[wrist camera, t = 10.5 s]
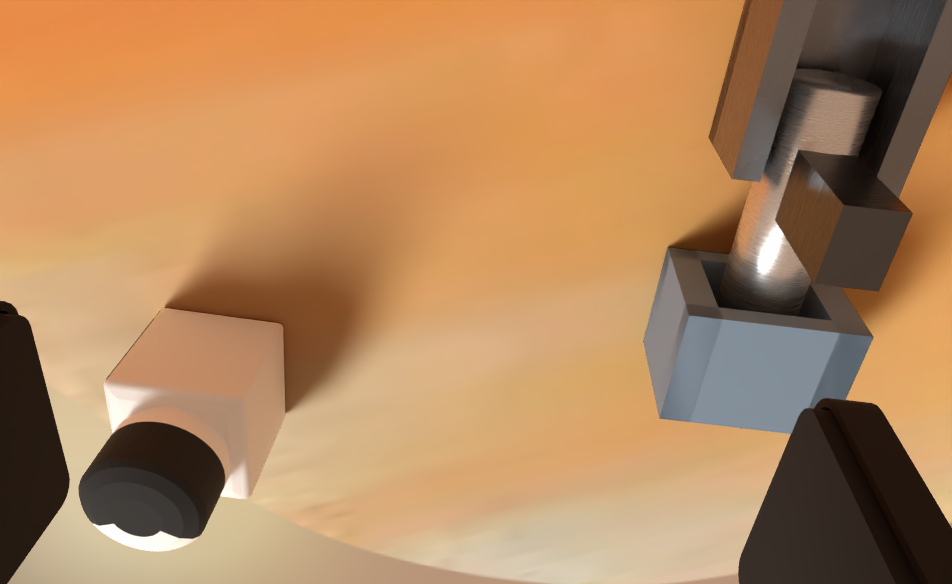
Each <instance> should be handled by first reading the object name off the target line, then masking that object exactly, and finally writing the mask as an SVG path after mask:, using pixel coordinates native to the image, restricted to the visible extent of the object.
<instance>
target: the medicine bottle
mask: <svg viewBox="0 0 952 584" xmlns="http://www.w3.org/2000/svg"><path fill="white" fill-rule="evenodd" d="M104 390H105V396H106V401H107V407H108V412H109V418H110V423H111V428H112V435H111V436H110V438H109V439H108V441H107V442H106V444H105V445H104V447H103V448H102V449H101V451H100V452H99V453H98V455H97V456H96V458H95V459H94V461H93V462H92V463H91V465H90V466H89V468H88V469H87V471H86V472H85V473H84V475H83V476H82V478H81V481H80V484H79V497H80V501H81V505H82V507H83V510H84V512H85V514H86V515H87V517H88V518H89V520H90V521H91V522H92V523H93V524H94V525H95V526H96V527H97V528H98V529H99V530H100V531H101V532H103V533H104V534H105V535H107V536H108V537H110V538H112V539H114V540H115V541H117V542H119V543H122V544H124V545H127V546H130V547H132V548H137V549H141V550H147V551H168V550H173V549H177V548H180V547H183V546H185V545H187V544H190V543H191V542H193V541H194V540H196V539H197V538H198V537H199V536H200V535H201V534H202V532H203V531H204V529H205V526H206V524H207V522H208V520H209V518H210V516H211V514H212V512H213V510H214V507H215V505H216V503H217V501H218V499H219V497H220V496H224V497H232V498H239V499H247V498H249V497H250V496H251V494H252V492H253V490H254V487H255V485H256V483H257V480H258V478H259V476H260V473H261V471H262V469H263V466H264V464H265V462H266V459H267V457H268V455H269V453H270V450H271V448H272V446H273V443H274V441H275V439H276V436H277V434H278V432H279V429H280V427H281V425H282V422H283V420H284V418H285V380H284V336H283V326H282V325H281V324H279V323H274V322H266V321H259V320H251V319H244V318H236V317H229V316H222V315H214V314H207V313H199V312H192V311H184V310H177V309H169V308H163V309H162V310H160V311H159V313H158V314H157V315H156V316H155V318H154V319H153V320H152V321H151V323H150V324H149V325H148V326H147V328H146V329H145V330H144V332H143V333H142V334H141V335H140V337H139V338H138V339H137V340H136V342H135V343H134V344H133V346H132V347H131V348H130V349H129V351H128V352H127V353H126V354H125V356H124V357H123V358H122V360H121V361H120V362H119V363H118V365H117V366H116V367H115V368H114V370H113V371H112V372H111V374H110V375H109V376H108V377H107V379H106V380H105V382H104Z"/></svg>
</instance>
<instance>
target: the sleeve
mask: <svg viewBox="0 0 952 584" xmlns="http://www.w3.org/2000/svg"><path fill="white" fill-rule="evenodd" d="M796 69H815V70H823V71H830V72H835V73H840V74H845V75H849V76H852V77H856V78H859V79H862V80H865V81H867V82H870V83H872V84H874V85H876V86H878V87H879V88H880V89H881V90H882V94H881V97H880V100H879V102H878V105H877V107H876V110H875V113H874V115H873V118H872V121H871V123H870V126H869V129H868V131H867V134H866V136H865V139H864V142H863V144H862V147H861V150H860V152H859V155H858V158H859V159H860V160H861V161H862V162H863V163H864V164H865V165H866V166H867V167H868V168H869V169H870V170H871V171H872V172H873V173H874V174H875V175H876V176H877V177H878V178H879V179H880V180H881V181H882V182H883V183H884V184H885V185H886V186H887V187H888V188H889V189H890V190H891V191H892V192H893V193H894V194H895V195H896V197H897V198H899V195H900V193H901V191H902V188H903V186H904V184H905V181H906V179H907V176H908V174H909V172H910V169H911V167H912V165H913V162H914V160H915V157H916V155H917V153H918V150H919V148H920V146H921V143H922V141H923V138H924V136H925V134H926V131H927V129H928V127H929V124H930V122H931V119H932V117H933V115H934V112H935V110H936V108H937V105H938V103H939V100H940V98H941V96H942V93H943V91H944V89H945V86H946V84H947V81H948V79H949V77H950V74H951V72H952V0H745V3H744V7H743V11H742V15H741V18H740V22H739V26H738V30H737V33H736V37H735V41H734V45H733V48H732V52H731V56H730V60H729V63H728V67H727V71H726V75H725V78H724V82H723V86H722V90H721V94H720V97H719V101H718V105H717V109H716V112H715V116H714V120H713V124H712V127H711V131H710V135H709V139H710V141H711V143H712V144H713V146H714V148H715V150H716V152H717V153H718V155H719V157H720V159H721V160H722V162H723V164H724V166H725V168H726V169H727V171H728V173H729V175H730V177H731V178H732V179H738V180H747V181H756V182H760V181H761V178H762V175H763V172H764V169H765V165H766V162H767V159H768V156H769V153H770V149H771V146H772V143H773V140H774V137H775V133H776V130H777V127H778V124H779V121H780V118H781V114H782V111H783V108H784V105H785V102H786V98H787V95H788V92H789V89H790V86H791V82H792V79H793V76H794V73H795V70H796Z"/></svg>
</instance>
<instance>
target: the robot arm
mask: <svg viewBox="0 0 952 584" xmlns="http://www.w3.org/2000/svg"><path fill="white" fill-rule="evenodd" d="M69 480H70V479H69V473H68V469H67V465H66V461H65V457H64V453H63V449H62V445H61V442H60V438H59V434H58V430H57V426H56V422H55V418H54V414H53V411H52V407H51V403H50V399H49V395H48V391H47V387H46V383H45V380H44V376H43V372H42V368H41V364H40V360H39V356H38V352H37V348H36V345H35V341H34V337H33V333H32V329H31V326H30V323H29V321H28V320H27V319H26V318H25V317H23V316H20V315H19V314H18V312H17V310H16V308H15V307H14V306H13V305H12V304H10V303H7V302H5V301H0V584H7V583H8V582H9V580H10V579H11V577H12V576H13V575H14V573H15V572H16V570H17V569H18V567H19V566H20V565H21V563H22V562H23V561H24V559H25V557H26V556H27V555H28V553H29V552H30V551H31V549H32V548H33V546H34V545H35V543H36V542H37V541H38V539H39V538H40V536H41V535H42V534H43V532H44V531H45V529H46V528H47V526H48V525H49V524H50V522H51V521H52V519H53V518H54V516H55V515H56V514H57V512H58V511H59V509H60V508H61V506H62V505H63V503H64V501H65V499H66V496H67V493H68V489H69ZM738 575H739V584H952V528H951V526H950V524H949V523H948V521H947V519H946V518H945V516H944V514H943V513H942V511H941V509H940V508H939V506H938V504H937V503H936V501H935V499H934V498H933V496H932V494H931V493H930V491H929V489H928V487H927V486H926V484H925V482H924V481H923V479H922V477H921V476H920V474H919V472H918V471H917V469H916V467H915V466H914V464H913V462H912V461H911V459H910V457H909V456H908V454H907V452H906V451H905V449H904V447H903V446H902V444H901V442H900V440H899V439H898V437H897V435H896V434H895V432H894V430H893V429H892V427H891V425H890V424H889V422H888V420H887V419H886V417H885V415H884V414H883V412H882V411H881V409H880V408H879V407H878V406H877V405H875V404H872V403H866V402H857V401H849V400H840V399H832V398H824V399H821V400H820V401H819V402H818V403H817V404H816V406H815V408H814V409H813V408H806V409H804V410H803V411H802V412H801V413H800V415H799V417H798V419H797V421H796V424H795V426H794V428H793V431H792V433H791V436H790V438H789V441H788V443H787V445H786V448H785V450H784V453H783V455H782V457H781V460H780V462H779V465H778V467H777V470H776V472H775V474H774V477H773V479H772V482H771V484H770V486H769V489H768V491H767V494H766V496H765V499H764V501H763V503H762V506H761V508H760V511H759V513H758V515H757V518H756V520H755V523H754V525H753V527H752V530H751V532H750V535H749V537H748V540H747V542H746V544H745V547H744V549H743V552H742V554H741V557H740V561H739V573H738Z"/></svg>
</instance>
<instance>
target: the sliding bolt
mask: <svg viewBox="0 0 952 584" xmlns="http://www.w3.org/2000/svg"><path fill="white" fill-rule="evenodd" d="M881 94H882V90H881V89H880V88H879V87H878V86H876V85H874V84H872V83H870V82H867V81H865V80H862V79H859V78H856V77H852V76H849V75H845V74H840V73H835V72H830V71H823V70H815V69H796V70H795V73H794V76H793V79H792V82H791V86H790V89H789V92H788V95H787V98H786V102H785V105H784V108H783V111H782V114H781V118H780V121H779V124H778V127H777V130H776V133H775V137H774V140H773V143H772V146H771V149H770V153H769V156H768V159H767V162H766V165H765V169H764V172H763V175H762V178H761V181H760V182H756V181H752V183H751V186H750V190H749V193H748V196H747V199H746V203H745V206H744V209H743V212H742V216H741V219H740V222H739V225H738V229H737V232H736V235H735V239H734V242H733V245H732V248H731V252H730V255H729V258H728V261H727V265H726V268H725V271H724V274H723V278H722V281H721V284H720V287H719V291H718V294H717V297H716V303H717V305H718V307H719V308H728V309H736V310H745V311H753V312H762V313H771V314H779V315H788V316H796V317H797V316H798V313H799V311H800V308H801V305H802V303H803V300H804V297H805V295H806V292H807V290H808V287H809V284H810V282H811V280H812V282H813V283H814V284H820V285H829V286H837V287H846V288H855V289H863V290H872V291H879V289H880V287H881V285H882V283H883V280H884V278H885V276H886V273H887V271H888V269H889V267H890V264H891V262H892V260H893V257H894V255H895V253H896V251H897V248H898V246H899V244H900V241H901V239H902V237H903V235H904V232H905V230H906V228H907V225H908V223H909V221H910V219H911V216H912V214H913V213H912V212H911V211H910V210H909V209H908V208H907V207H906V206H905V205H904V204H903V203H902V202H901V201H900V200H899V199H898V198H897V197H896V195H895V194H894V193H893V192H892V191H891V190H890V189H889V188H888V187H887V186H886V185H885V184H884V183H883V182H882V181H881V180H880V179H879V178H878V177H877V176H876V175H875V174H874V173H873V172H872V171H871V170H870V169H869V168H868V167H867V166H866V165H865V164H864V163H863V162H862V161H861V160H860V159H859V158H858V155H859V152H860V150H861V147H862V144H863V142H864V139H865V136H866V134H867V131H868V129H869V126H870V123H871V121H872V118H873V115H874V113H875V110H876V107H877V105H878V102H879V100H880V97H881Z"/></svg>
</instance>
